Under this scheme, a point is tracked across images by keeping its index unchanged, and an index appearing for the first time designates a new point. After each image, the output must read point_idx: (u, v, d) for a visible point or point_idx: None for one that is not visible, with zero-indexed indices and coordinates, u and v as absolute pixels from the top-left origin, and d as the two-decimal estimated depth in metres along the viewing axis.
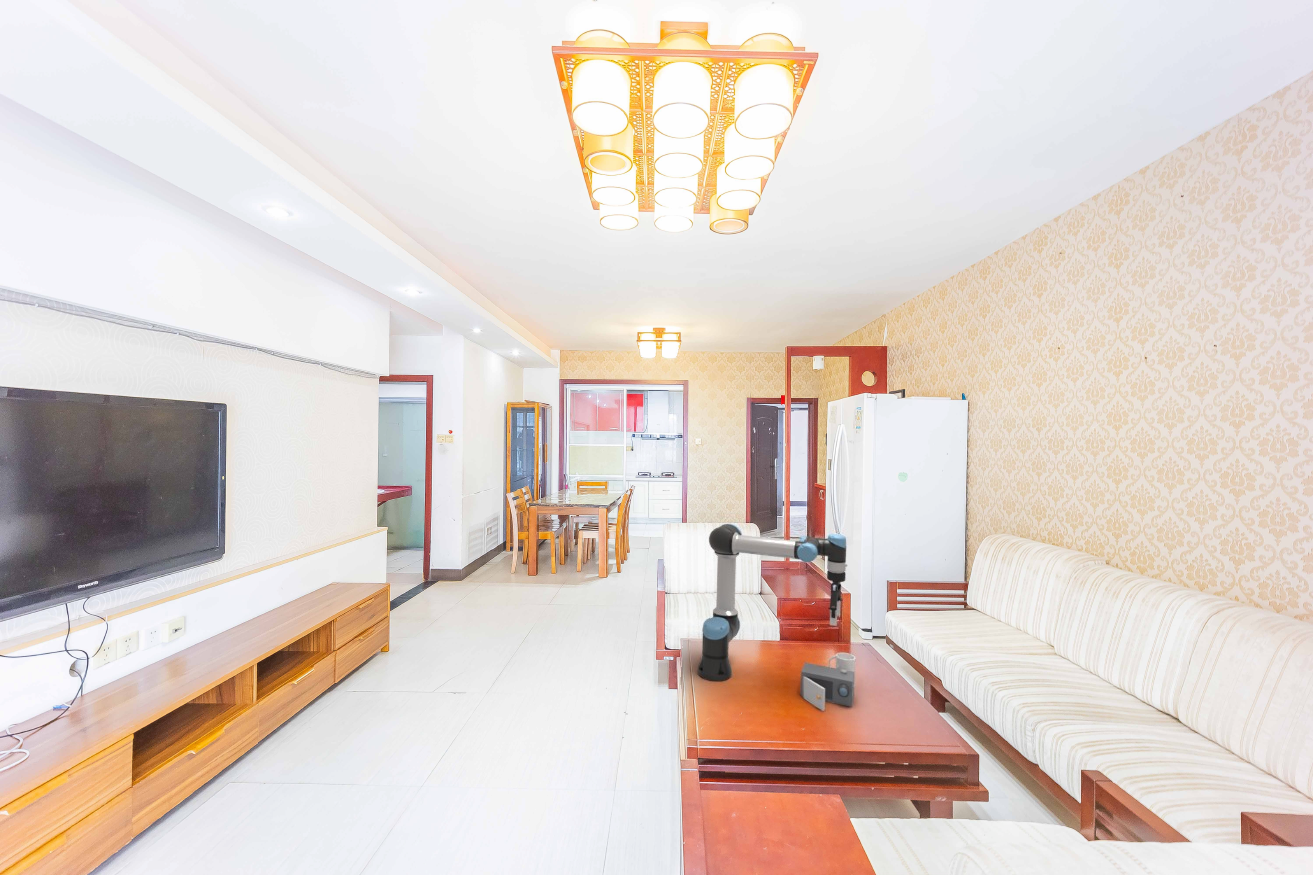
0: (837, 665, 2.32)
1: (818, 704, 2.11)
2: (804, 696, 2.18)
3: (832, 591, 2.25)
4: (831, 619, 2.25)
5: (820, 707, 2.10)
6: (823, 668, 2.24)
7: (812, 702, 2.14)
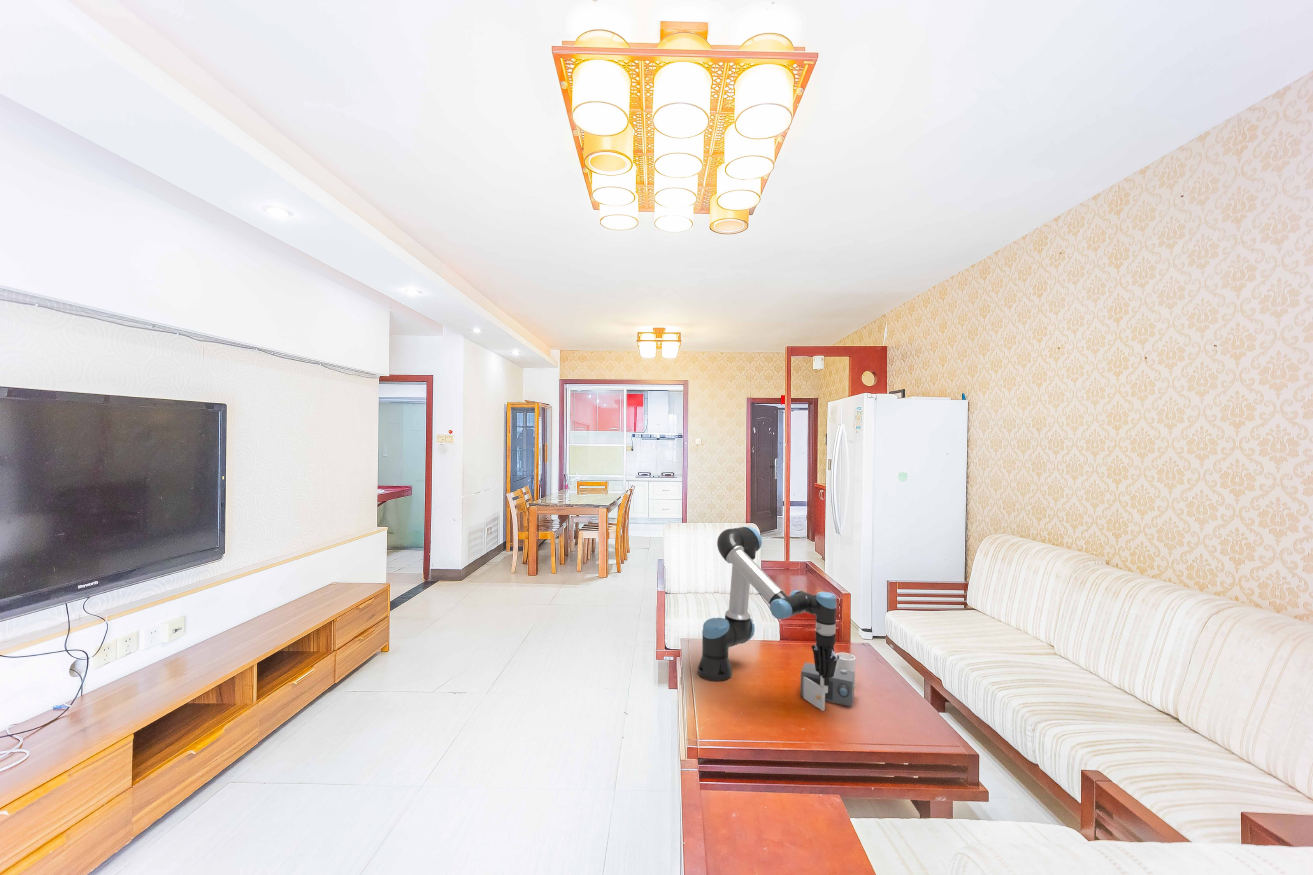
0: (837, 665, 2.32)
1: (818, 704, 2.11)
2: (804, 696, 2.18)
3: None
4: None
5: (820, 707, 2.10)
6: None
7: (812, 702, 2.14)
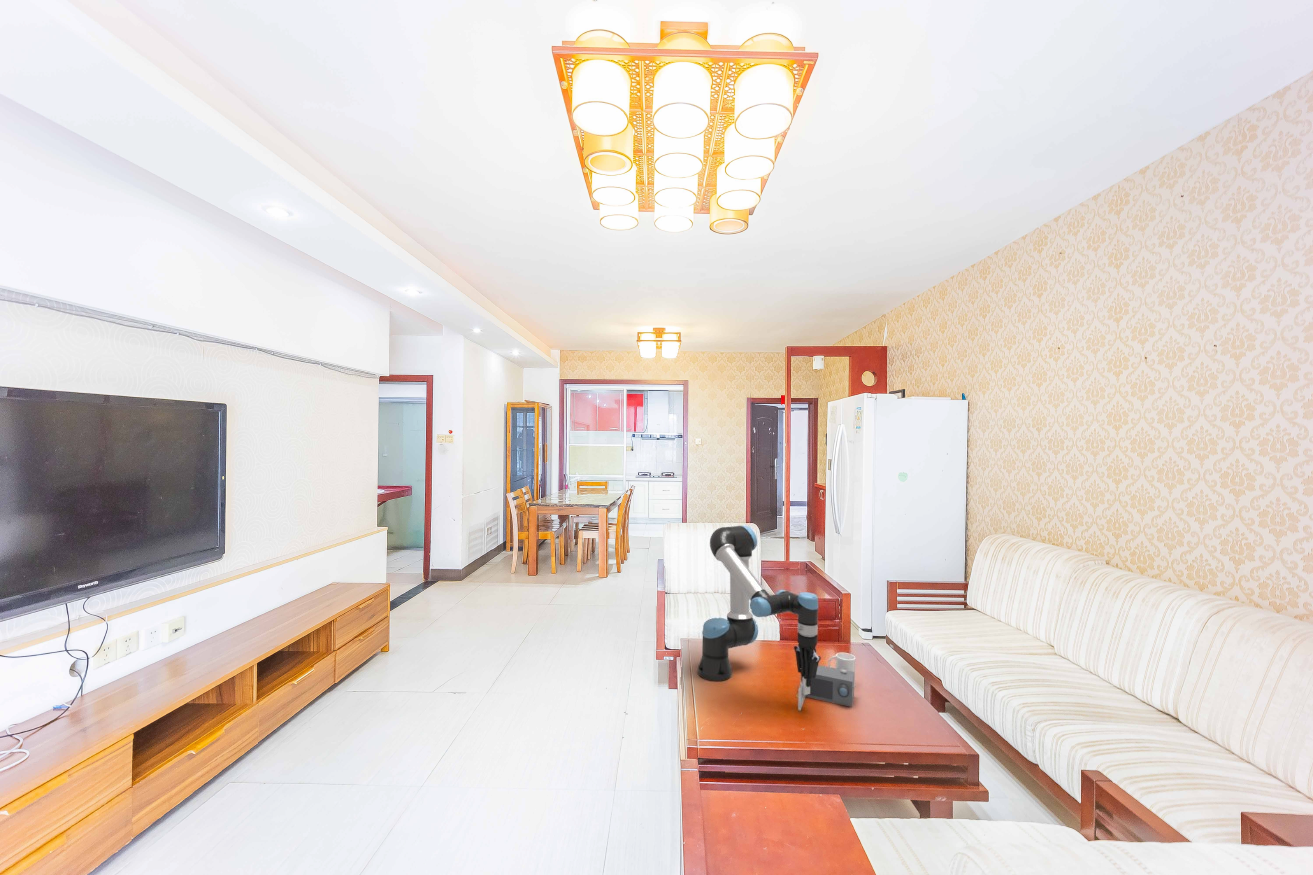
0: (837, 665, 2.32)
1: None
2: None
3: None
4: None
5: None
6: (823, 668, 2.24)
7: None
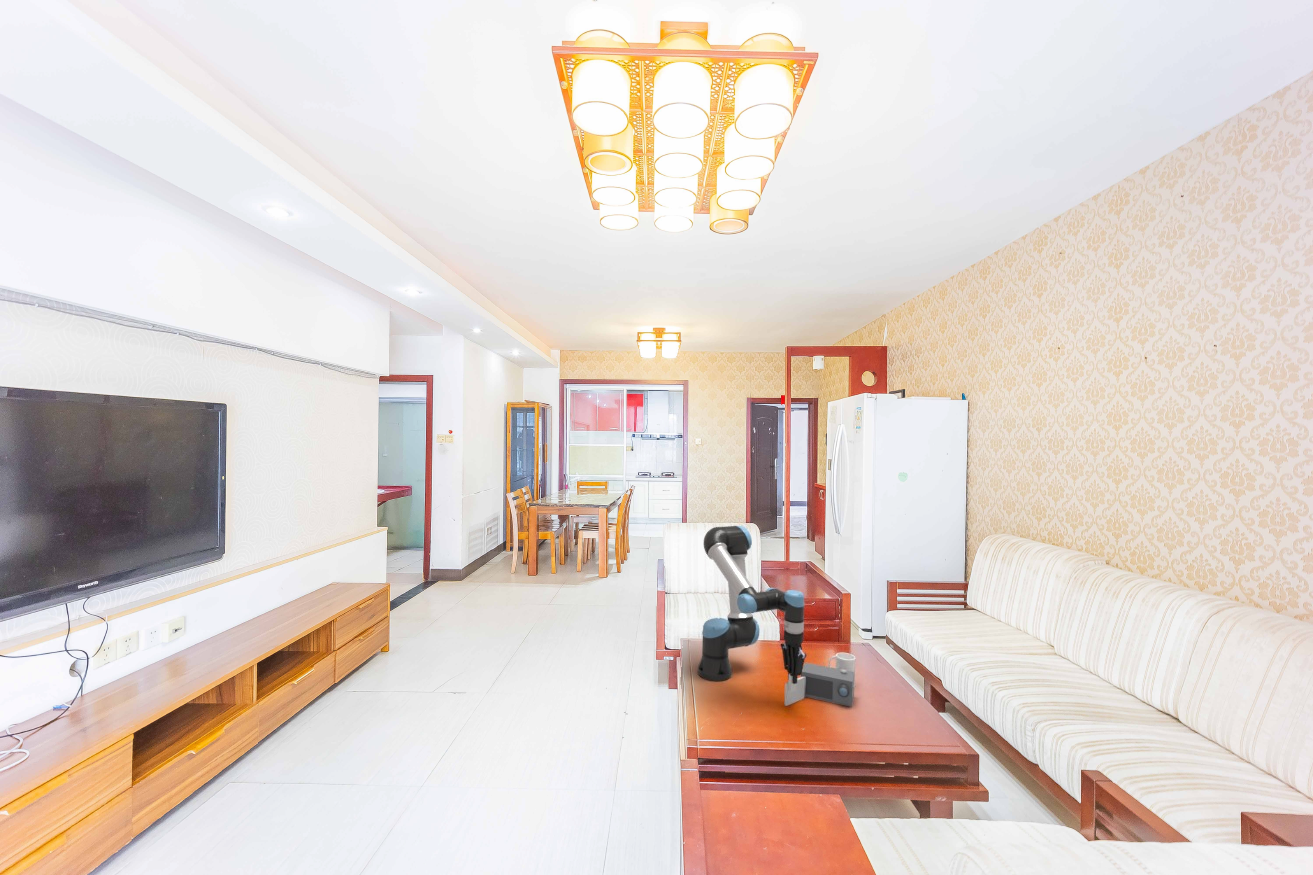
0: (837, 665, 2.32)
1: None
2: None
3: None
4: None
5: None
6: (823, 668, 2.24)
7: None
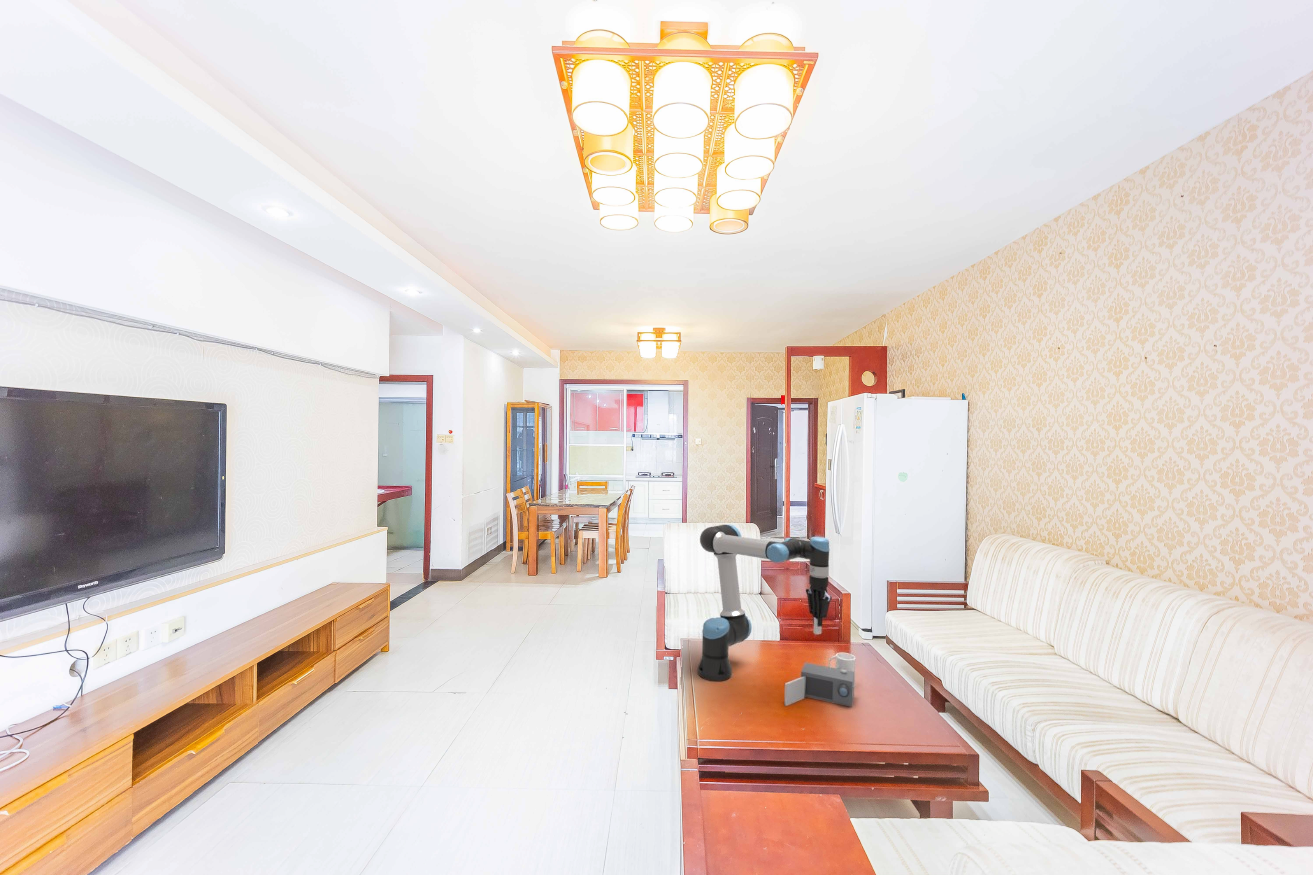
0: (837, 665, 2.32)
1: None
2: None
3: None
4: None
5: None
6: (823, 668, 2.24)
7: None
